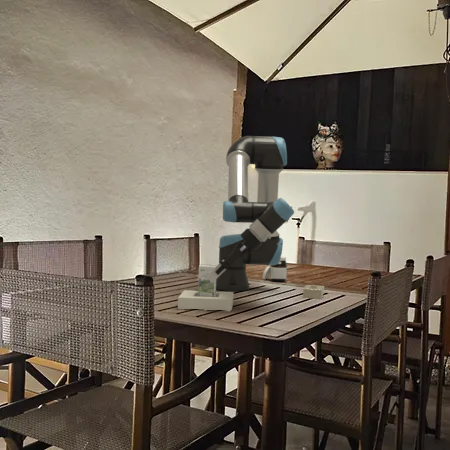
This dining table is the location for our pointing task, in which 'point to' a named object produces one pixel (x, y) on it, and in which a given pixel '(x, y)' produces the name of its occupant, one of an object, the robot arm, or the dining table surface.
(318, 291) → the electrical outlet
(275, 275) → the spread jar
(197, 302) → the holder block
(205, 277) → the syrup box
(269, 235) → the robot arm
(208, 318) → the dining table surface
